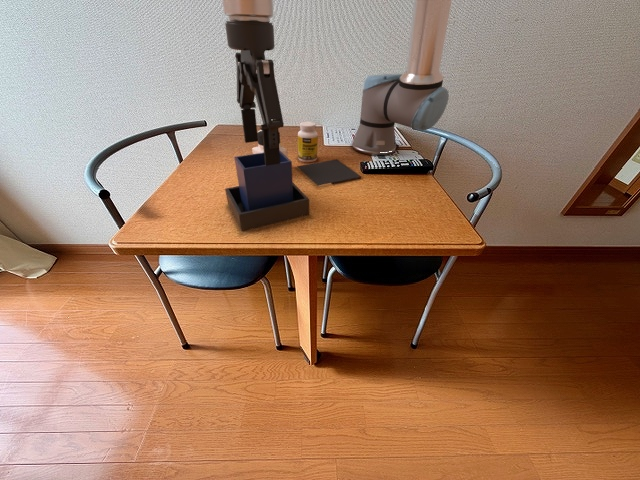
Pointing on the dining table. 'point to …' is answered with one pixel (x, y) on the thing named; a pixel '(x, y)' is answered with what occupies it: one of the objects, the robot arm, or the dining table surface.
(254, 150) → the medicine bottle
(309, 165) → the mat
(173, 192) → the dining table surface
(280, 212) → the bin
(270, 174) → the inner bin
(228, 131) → the dining table surface
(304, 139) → the pill bottle
